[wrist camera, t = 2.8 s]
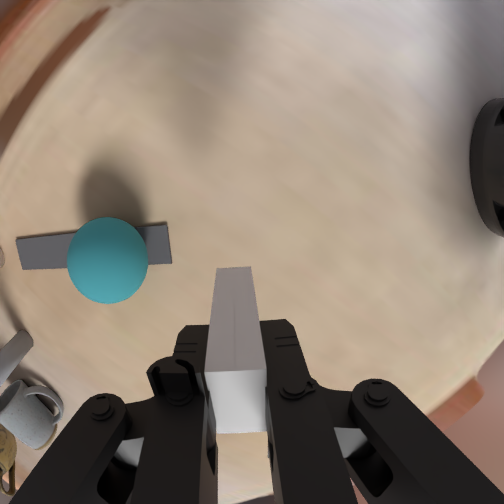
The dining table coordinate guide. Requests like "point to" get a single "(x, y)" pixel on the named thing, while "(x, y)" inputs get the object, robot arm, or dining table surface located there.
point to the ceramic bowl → (7, 458)
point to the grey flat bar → (56, 246)
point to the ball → (107, 260)
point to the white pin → (1, 258)
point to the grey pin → (14, 353)
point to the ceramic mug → (29, 414)
